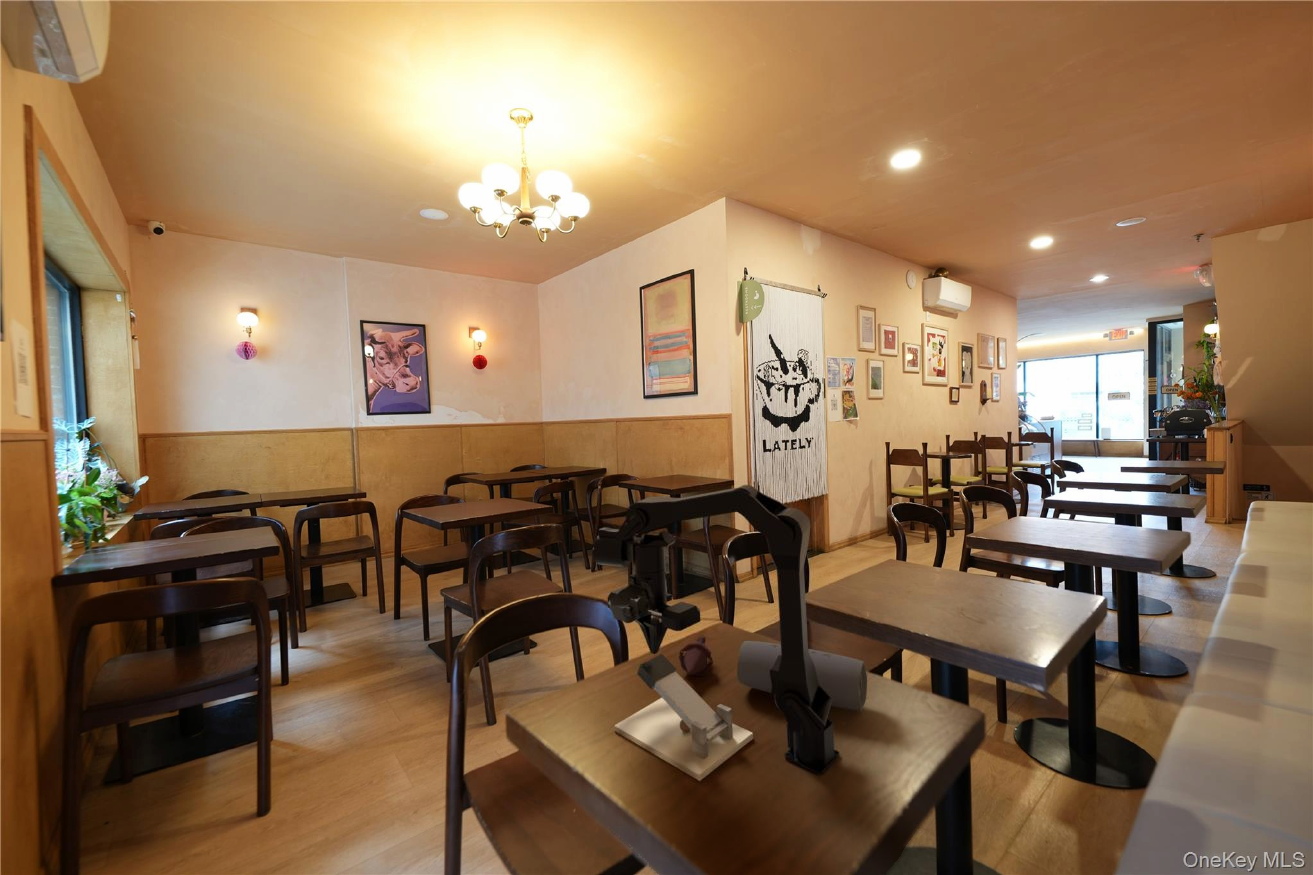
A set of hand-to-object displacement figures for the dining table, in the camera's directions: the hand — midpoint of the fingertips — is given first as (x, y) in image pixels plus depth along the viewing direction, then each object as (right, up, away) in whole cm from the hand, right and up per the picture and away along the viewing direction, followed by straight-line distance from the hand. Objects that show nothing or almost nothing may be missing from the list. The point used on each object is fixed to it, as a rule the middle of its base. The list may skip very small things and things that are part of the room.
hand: (654, 652), depth 99 cm
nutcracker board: (+5, -13, -4) cm, 14 cm away
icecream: (+9, -12, +18) cm, 23 cm away
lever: (+4, -7, -4) cm, 9 cm away
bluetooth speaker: (+28, -11, +5) cm, 31 cm away
